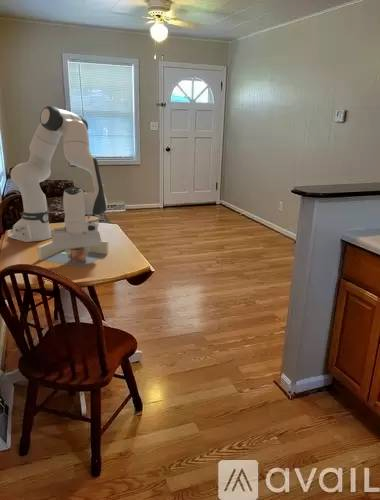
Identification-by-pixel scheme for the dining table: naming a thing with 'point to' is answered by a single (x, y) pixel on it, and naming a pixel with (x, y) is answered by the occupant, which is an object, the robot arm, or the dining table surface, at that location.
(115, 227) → the dining table surface
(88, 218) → the lidded jar
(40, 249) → the arena
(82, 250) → the block
